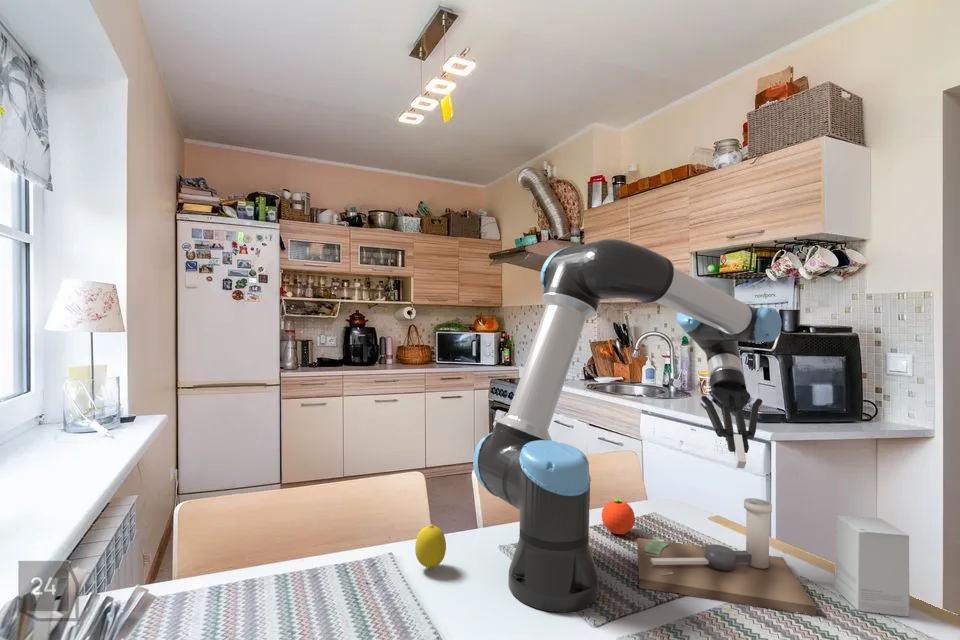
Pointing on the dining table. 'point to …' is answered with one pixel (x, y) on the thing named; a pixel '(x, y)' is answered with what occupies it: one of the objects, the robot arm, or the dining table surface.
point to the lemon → (430, 546)
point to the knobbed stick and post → (727, 557)
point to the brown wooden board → (722, 578)
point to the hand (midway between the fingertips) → (741, 464)
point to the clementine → (618, 516)
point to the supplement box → (872, 565)
